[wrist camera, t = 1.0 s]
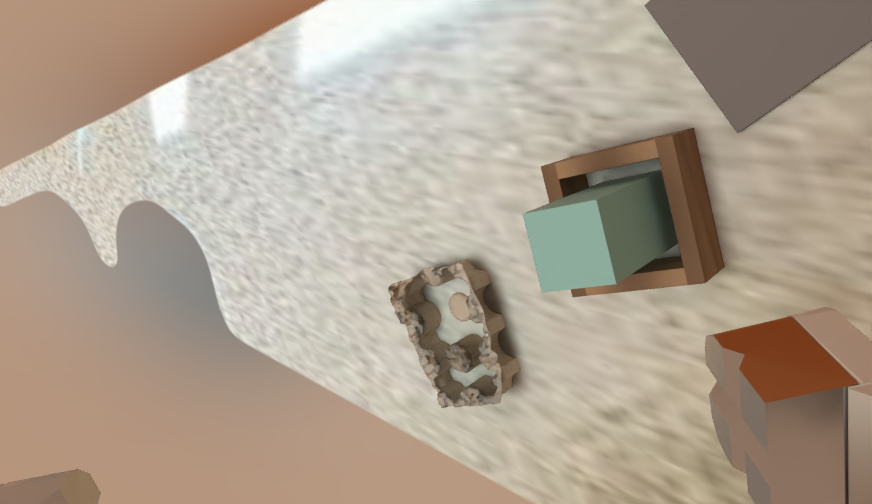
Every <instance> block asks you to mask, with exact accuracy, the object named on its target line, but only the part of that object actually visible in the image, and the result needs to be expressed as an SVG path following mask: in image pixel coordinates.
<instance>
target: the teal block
mask: <svg viewBox="0 0 872 504" xmlns="http://www.w3.org/2000/svg"><path fill="white" fill-rule="evenodd" d="M523 218H524V222H525V226H526V230H527V234H528V238H529V242H530V246H531V250H532V254H533V258H534V262H535V266H536V270H537V274H538V278H539V282H540V286H541V290H542V293H543V292H551V291H560V290H569V289H578V288H587V287H595V286H604V285H613V284H617V283H619V282H620V281H622V280H623V279H625V278H626V277H628V276H629V275H631V274H632V273H634V272H635V271H637V270H638V269H640V268H641V267H643V266H644V265H646V264H647V263H649V262H651V261H652V260H654V259H655V258H657V257H658V256H660V255H661V254H663V253H664V252H666V251H667V250H669V249H670V248H672V247H673V246H675V245H676V244H678V240H677V236H676V231H675V227H674V222H673V218H672V214H671V209H670V205H669V200H668V196H667V192H666V187H665V183H664V178H663V174H662V170H659V171H654V172H649V173H644V174H639V175H635V176H630V177H625V178H620V179H616V180H611V181H606V182H602V183H599V184H597V185H594V186H592V187H589V188H587V189H584V190H582V191H579V192H577V193H574V194H571V195H569V196H566V197H564V198H561V199H559V200H556V201H554V202H551V203H549V204H546V205H544V206H541V207H539V208H536V209H534V210H531V211H529V212H526V213H524V214H523Z"/></svg>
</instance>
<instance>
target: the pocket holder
mask: <svg viewBox="0 0 872 504" xmlns="http://www.w3.org/2000/svg"><path fill="white" fill-rule="evenodd" d="M657 157H659V161H660V165H661V169H662V174H663V178H664V183H665V187H666V192H667V196H668V200H669V205H670V209H671V214H672V218H673V222H674V227H675V231H676V236H677V240H678V244H679V249H680V253H681V256H677V257H670V258H662V259H655V260H652V261H651V262H649V263H647V264H646V265H644V266H643V267H641V268H640V269H638V270H637V271H635V272H634V273H632V274H631V275H629V276H628V277H626V278H625V279H623V280H622V281H620V282H619V283H617V284H613V285H604V286H595V287H587V288H578V289H571V292H572V296H573V297H579V296H588V295H598V294H607V293H617V292H626V291H636V290H645V289H655V288H664V287H673V286H683V285H692V284H702V283H706V282H707V281H708V280H710V279H711V278H712V277H713V276H714V275H715V274H717V273H718V272H719V271H720V270H721V269H723V268H724V264H723V259H722V255H721V250H720V246H719V241H718V237H717V232H716V228H715V223H714V219H713V214H712V209H711V205H710V200H709V196H708V191H707V187H706V182H705V178H704V173H703V169H702V164H701V160H700V155H699V151H698V146H697V142H696V137H695V132H694V128H692V129H688V130H683V131H679V132H675V133H671V134H667V135H663V136H658V137H654V138H650V139H646V140H642V141H637V142H633V143H629V144H625V145H621V146H617V147H612V148H608V149H604V150H600V151H596V152H591V153H587V154H583V155H579V156H575V157H571V158H567V159H563V160H560V161H557V162H554V163H551V164H547V165H544V166H541V169H542V173H543V178H544V182H545V186H546V190H547V194H548V198H549V202H550V203H551V202H554V201H556V200H559V199H561V198H564V197H566V196H569V195H571V194H574V193H577V192H579V191H582V190H584V189H587V188H588V184H587V179H586V175H585V173H590V172H594V171H599V170H603V169H608V168H612V167H617V166H621V165H626V164H630V163H635V162H639V161H644V160H648V159H653V158H657Z"/></svg>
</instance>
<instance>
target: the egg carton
mask: <svg viewBox="0 0 872 504" xmlns="http://www.w3.org/2000/svg"><path fill="white" fill-rule="evenodd" d="M455 277H458V278H461V279H463V280H465V281H466V282H467V283H468V284H469V287H470V295H469V297H467V296H466V295H464V294H463V293H455V294H453V296H452V297H451V298H450V301H449V307H450V311H451V313H452V314H453V316H454V317H455V318H456V319H458V320H460V321H467V320H469V319H470V320H472V321H474V322H475V323H483V324H484V328H483V332H484V336H483V337H482V338H483V339H482V338H481V337H479V336H478V335H474V334H471V335H468V336H466V337H464V338H463V339H461V340H459V341H458V342H456V343H454V344H452V345H450V346H449V344H447V343H445V342H443V341H440V339H439V336H438V335H437V333H436V331H435V328H437V327H438V326H439V324H440V321H441V315H440V311H439V309H438V308H437V306H436V305H435V304H434V303H432V302H430V301H426V300H425V298H424V296H423V293H422V287H424V286H425V284H428V285H431V286H440V285H441V284H443V283H445V282H448V281H450V280H452V279H454V278H455ZM490 283H491V282H490V278H489V275H488V273H487V271H486V270H478V269H476V268H475V267H474V266H473V265H472V264H471V262H470V261H469V260H464V261H460V262H458V263H455V264H453V265H451V266H445V267H442V268H439V269H437V270H436V269H435V267H432V268H427V269H423V270H422V271H421V272H420V273H419V274H418V275H417V276H414V277H412V278H411V279H408V280H405V281H400V282H397V283H394V284H392V285H391V286H390V287H389V288H388V289H389V293H390V295H391V299H390V300H391V302H392V305H393V306H394V308H395V314H396V315H397V317H398V318H399V320H400V323H402V324H406V326H407V329H408V333H409V339H410V341H411V342H412V343H414V346H415V349H416V351H417V353H418V355H419V360H420V365H421V366H422V368H423V370H424V372H425V373H426V375H427V377H428V378H429V379H430V381H431V382H432V386H433V387H434V388H435V389H436V390H437V391H438V392H439V393H438V394H437V395H438V398H437V399H438V402H439V404H440V405H441V408H444V407H448V406H454V407H461V406H482V405H487V404H498V403H500V401H501V394H503V393H504V392H506V391H507V390H508V389H510V388H511V387H512V379H513V375H514V374H515V373H517V372H518V371H520V366H519V363H518V360H517V358H515V357H511V356H508V355H506V354H505V353H504V352H503V351H502V350H501V348H500V346H499V343H498V334H499V332H500V331H501V330H502V329H503V328H505V327H506V325H505V322H504V319H503V316H502V315H501V314H498V313H494V312H492V311H491V310H489V309H488V308H487V306H486V305H485V303H484V300H483V291H484V289H485V287H486V286H487V285H489V284H490ZM486 333H488V334H489V335H488V337H485V334H486ZM481 363H484V364H485V366H486V367H488V370H493V371H495V372H496V375H495V376H494V378H493V377H491V376H483V377H481V378H479V379H478V380H477V381H475V382H474V383H472V384H471V385H469V386H467V387H464V386H463V385H462V384H461V383H460V382H458V381H454V380H453V379H452V377H451V375H450V371H449V368H450V367H453V368H455V369H456V370H458V371H460V372H465V373H467V372H469V371H470V370H472V369H473V368H475V367H476V366H478V365H479V364H481Z"/></svg>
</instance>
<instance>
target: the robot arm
mask: <svg viewBox="0 0 872 504" xmlns="http://www.w3.org/2000/svg"><path fill="white" fill-rule="evenodd" d="M705 354H706V365H707V366H708V368H709V369H710V371H711V372H712V374H713V375H714V377H715V378H716V380H717V383H716V384H715V386H714V387H713V389H712V391H711V392H710V394H709V397H710V404H711V412H712V418H713V422H714V426H715V429H716V433H717V437H718V439H719V442H720V444H721V446H722V448H723V451H724V453H725V455H726V456H727V458H728V460H729V461H730V463H731V465H732V467H734V468H736V469H738V470H740V471H742V472H744V473H746V474H747V485H748V493H749V495H750V496H751V498H752V499H753V501H754V503H755V504H872V341H871V340H870V339H869V338H867V337H866V336H865V335H864V334H863V333H862V332H861V331H859V330H858V329H857V328H856V327H855V326H854V325H852V324H851V323H850V322H849V321H848V320H847V319H846V318H844V317H843V316H842V315H841V314H840V313H839V312H838V311H836V310H835V309H832V308H829V307H823V308H819V309H815V310H811V311H807V312H803V313H799V314H795V315H791V316H787V317H786V318H781V319H777V320H773V321H769V322H764V323H760V324H756V325H752V326H747V327H743V328H739V329H735V330H730V331H726V332H722V333H718V334H713V335H709V336H706V343H705ZM100 494H101V492H100V491H99V489H98V487H97V485H96V484H95V482H94V480H93V478H92V477H91V475H90V473H87V472H85V471H82V470H79V469H76V470H71V471H66V472H60V473H55V474H50V475H45V476H39V477H34V478H29V479H24V480H19V481H14V482H8V483H6V484H0V504H98V500H99V497H100Z"/></svg>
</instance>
